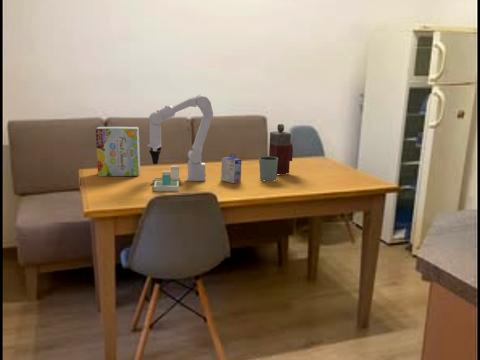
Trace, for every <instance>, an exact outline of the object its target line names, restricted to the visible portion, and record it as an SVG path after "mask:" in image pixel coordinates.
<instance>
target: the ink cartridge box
mask: <svg viewBox="0 0 480 360" xmlns="http://www.w3.org/2000/svg"><path fill="white" fill-rule="evenodd" d="M236 156H237V153H233V152H232V153H230V155H229V156H226V157H222V158H221V167H220V168H221V171H220V173H221V174H220V181H223V182H226V183H227V182H228V183H232V184H238V183H242V182H241V181H242V159H240V158H236ZM237 182H238V183H237Z"/></svg>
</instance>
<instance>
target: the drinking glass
mask: <svg viewBox="0 0 480 360" xmlns="http://www.w3.org/2000/svg"><path fill="white" fill-rule="evenodd" d="M258 162H259V180H260V179H261V180H265V181H274V180H276V181H277V177H278V175H277V164H278V158H277V157H271V156H269V155H268V156H267V155H266V156H260V157H258ZM261 180H260V181H261ZM265 181H264V182H265ZM274 182H275V181H274Z"/></svg>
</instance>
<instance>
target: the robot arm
mask: <svg viewBox="0 0 480 360" xmlns="http://www.w3.org/2000/svg"><path fill="white" fill-rule="evenodd" d="M190 107H194V108H196V107H198V108H199V109H200V111H201V113H202V118H201V121H200V124H199V127H198V130H197V132H196V136H195V138H194V142H193V144H192V146H191V148H190V149H189V150H188V152H187V158H188V159H189V160H188V161H187V176H186V181H188V182H193V181H194V182H206V176H207V175H206V163H205V162H202V160H203V157H202V153H203V147H204V144H205V140H206V138H207V134H208V132H209V129H210V125H211V122H212V119H213V117H214V112H213V107H212V103H211V101H210V99H209V98H208V97H207V96H205V95H204V94H198V95H197V96H196V95H195V96H192V97H189V98H188V99H185V100H183V101H181V102H180V103H177V104H176V105H173V106H172V105H164V107H163V108H160V109H159V110H158V109H157V110H156V111H155V112H152V113H150V114H149V117H148V119H149V144H147V147H150V149H149V154H150V156H151V161H152V164H153V165H158V163H159V160H160V159H159V158H160V154H161V150H162V146H163V145H162V127H161V124H162V122H164V121H167V120H168V119H171V118H173V117H175V115H176V113H178V112H179V111H182V110H185V109H188V108H190Z"/></svg>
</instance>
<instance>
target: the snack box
mask: <svg viewBox="0 0 480 360" xmlns="http://www.w3.org/2000/svg"><path fill="white" fill-rule="evenodd" d="M139 130H140V129H139V126H98V127H96V128H95V140H96V141H95V142H96V161H97V162H96V163H97V164H96V165H97V177H136V176H137V177H138V176H139V175H140V174H141V159H140V158H141V157H140V156H141V155H140V131H139Z"/></svg>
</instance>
